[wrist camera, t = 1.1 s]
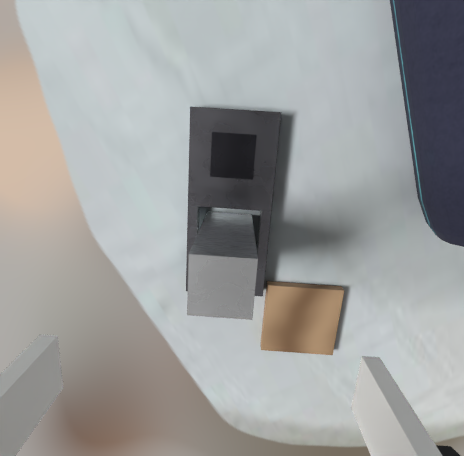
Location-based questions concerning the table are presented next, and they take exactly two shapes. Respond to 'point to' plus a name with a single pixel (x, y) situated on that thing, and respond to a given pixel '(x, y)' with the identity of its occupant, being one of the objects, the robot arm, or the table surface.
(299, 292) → the pad
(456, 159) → the portable speaker
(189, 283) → the tall grey prism
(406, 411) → the robot arm
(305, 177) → the table surface
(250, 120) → the dark grey slotted board
